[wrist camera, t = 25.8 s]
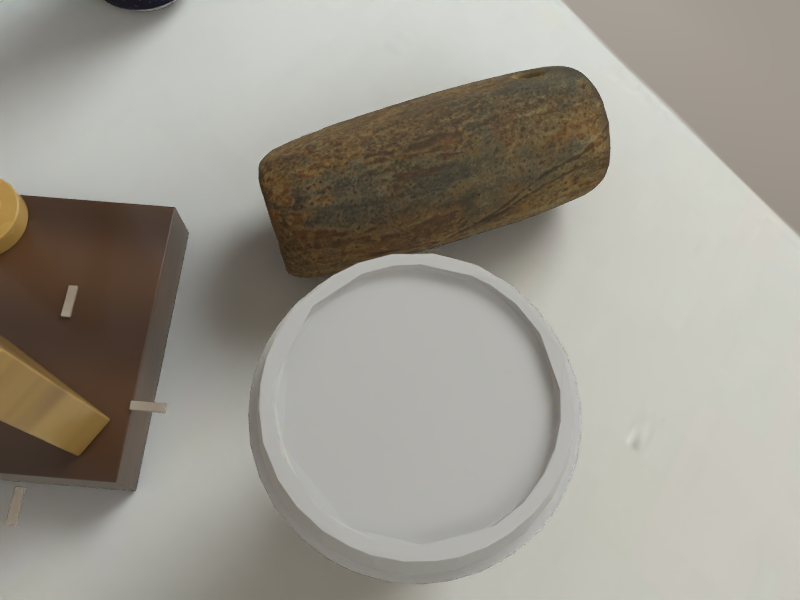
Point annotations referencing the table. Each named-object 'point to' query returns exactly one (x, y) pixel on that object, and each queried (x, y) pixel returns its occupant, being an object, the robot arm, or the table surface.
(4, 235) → the tap spout
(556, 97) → the brown cylindrical piece
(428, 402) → the disposable coffee cup
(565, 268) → the table surface
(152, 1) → the beverage can
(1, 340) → the tap handle
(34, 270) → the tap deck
